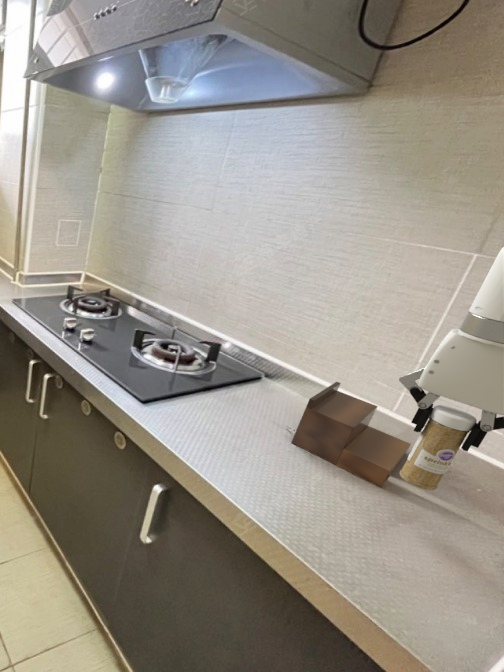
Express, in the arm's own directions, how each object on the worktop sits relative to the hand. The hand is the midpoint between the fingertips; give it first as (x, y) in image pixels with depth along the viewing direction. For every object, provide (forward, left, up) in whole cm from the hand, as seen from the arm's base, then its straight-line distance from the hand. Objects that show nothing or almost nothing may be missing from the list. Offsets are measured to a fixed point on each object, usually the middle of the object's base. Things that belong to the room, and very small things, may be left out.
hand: (441, 437), depth 61 cm
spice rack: (+11, -14, -16) cm, 24 cm away
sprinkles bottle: (0, 0, -9) cm, 9 cm away
